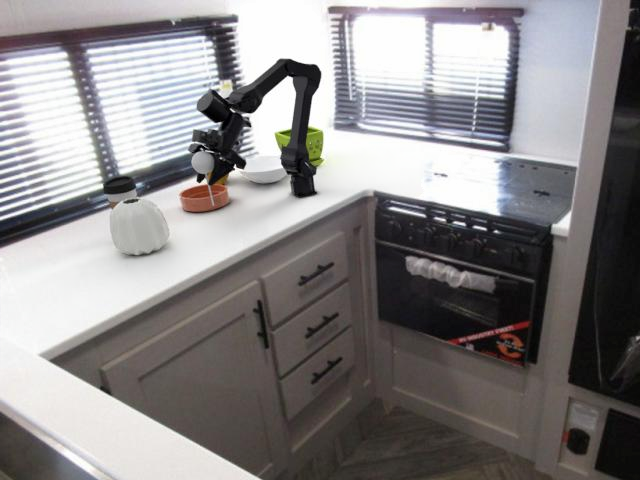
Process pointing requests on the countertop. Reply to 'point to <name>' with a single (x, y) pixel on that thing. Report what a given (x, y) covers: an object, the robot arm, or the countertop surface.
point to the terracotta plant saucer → (204, 198)
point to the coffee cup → (119, 189)
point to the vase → (138, 226)
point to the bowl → (263, 169)
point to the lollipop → (203, 165)
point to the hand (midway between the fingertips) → (203, 183)
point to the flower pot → (312, 137)
